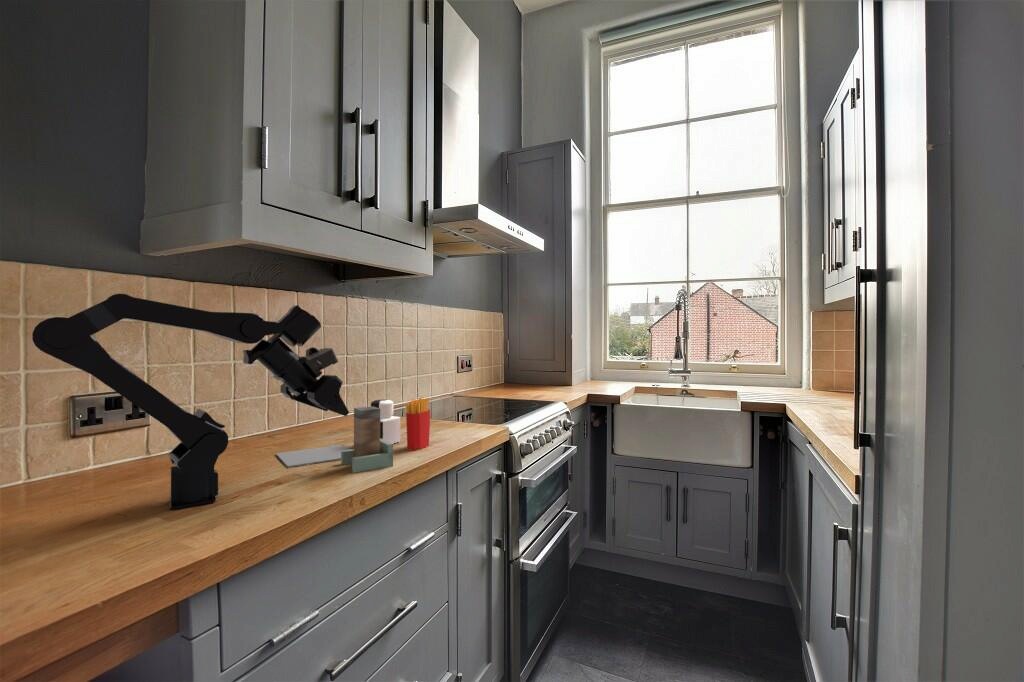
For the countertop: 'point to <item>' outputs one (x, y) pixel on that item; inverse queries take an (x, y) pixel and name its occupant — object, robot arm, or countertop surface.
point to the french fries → (418, 424)
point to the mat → (311, 455)
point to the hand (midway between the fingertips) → (337, 411)
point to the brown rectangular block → (366, 431)
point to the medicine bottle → (388, 421)
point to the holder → (369, 458)
